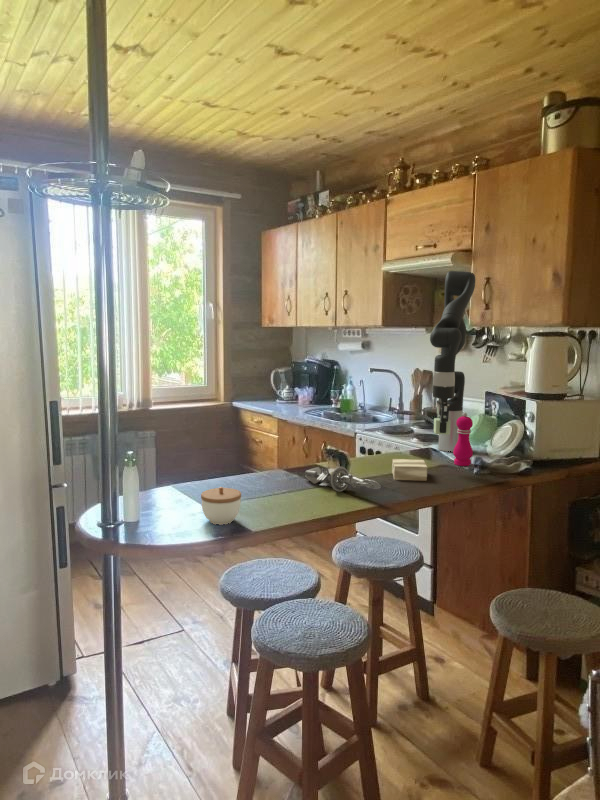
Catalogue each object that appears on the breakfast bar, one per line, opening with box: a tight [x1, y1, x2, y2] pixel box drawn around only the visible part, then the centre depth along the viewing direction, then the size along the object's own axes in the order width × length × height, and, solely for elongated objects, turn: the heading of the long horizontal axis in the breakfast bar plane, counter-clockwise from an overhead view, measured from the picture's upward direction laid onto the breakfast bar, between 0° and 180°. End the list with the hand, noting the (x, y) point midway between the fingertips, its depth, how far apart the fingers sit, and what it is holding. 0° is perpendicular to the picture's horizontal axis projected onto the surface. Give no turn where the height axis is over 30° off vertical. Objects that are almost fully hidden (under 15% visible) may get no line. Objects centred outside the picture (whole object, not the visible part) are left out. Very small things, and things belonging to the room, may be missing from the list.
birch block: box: [391, 458, 428, 482], centre depth 210 cm, size 11×11×5 cm
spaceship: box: [304, 466, 382, 492], centre depth 191 cm, size 8×35×8 cm
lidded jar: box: [200, 486, 242, 526], centre depth 161 cm, size 11×11×9 cm
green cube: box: [433, 417, 450, 435], centre depth 215 cm, size 5×5×5 cm
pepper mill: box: [452, 411, 474, 467], centre depth 227 cm, size 7×7×20 cm
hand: (441, 431), depth 216 cm, fingers closed on green cube, 5 cm apart
